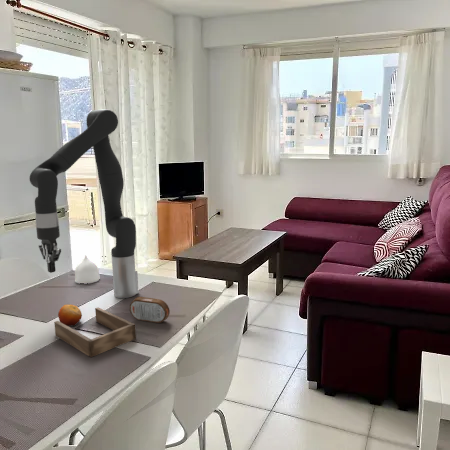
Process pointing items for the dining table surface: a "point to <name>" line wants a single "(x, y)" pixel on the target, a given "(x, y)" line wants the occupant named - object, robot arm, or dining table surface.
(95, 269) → the teardrop
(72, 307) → the fruit
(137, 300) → the tin
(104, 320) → the wooden u-shaped frame
